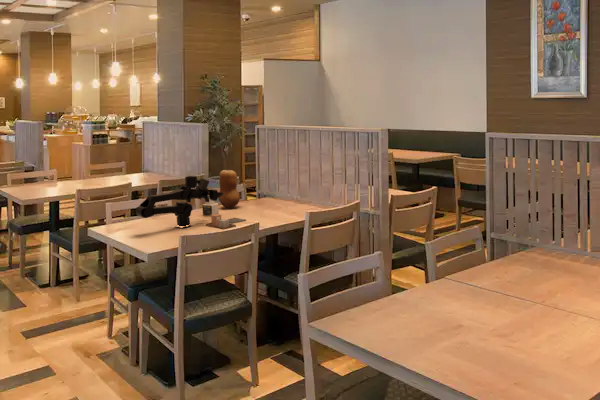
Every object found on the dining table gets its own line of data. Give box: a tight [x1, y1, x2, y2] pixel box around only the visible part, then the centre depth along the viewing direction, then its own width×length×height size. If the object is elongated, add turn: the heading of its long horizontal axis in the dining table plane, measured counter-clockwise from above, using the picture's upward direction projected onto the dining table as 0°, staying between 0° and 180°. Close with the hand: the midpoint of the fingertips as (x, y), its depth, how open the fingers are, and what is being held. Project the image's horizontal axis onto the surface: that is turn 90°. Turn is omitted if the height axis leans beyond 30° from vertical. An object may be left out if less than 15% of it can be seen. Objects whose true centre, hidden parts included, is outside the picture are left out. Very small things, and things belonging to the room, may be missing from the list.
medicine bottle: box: [201, 195, 220, 217], centre depth 370 cm, size 7×7×12 cm
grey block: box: [219, 218, 229, 227], centre depth 336 cm, size 4×4×4 cm
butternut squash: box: [218, 169, 240, 209], centre depth 390 cm, size 14×13×25 cm
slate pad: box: [227, 217, 247, 224], centre depth 350 cm, size 10×10×1 cm
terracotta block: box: [210, 213, 222, 226], centre depth 340 cm, size 4×4×6 cm
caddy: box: [205, 222, 237, 230], centre depth 338 cm, size 9×17×1 cm, turn 45°
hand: (218, 192), depth 354 cm, fingers open, 9 cm apart
